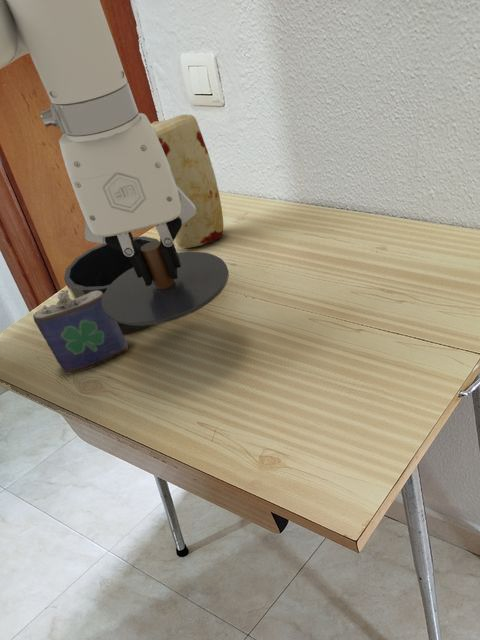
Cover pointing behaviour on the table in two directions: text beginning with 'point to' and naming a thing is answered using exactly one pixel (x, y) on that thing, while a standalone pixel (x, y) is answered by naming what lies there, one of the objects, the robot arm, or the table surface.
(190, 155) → the food model
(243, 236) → the table surface
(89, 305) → the flask
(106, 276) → the pan
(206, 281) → the pan lid
